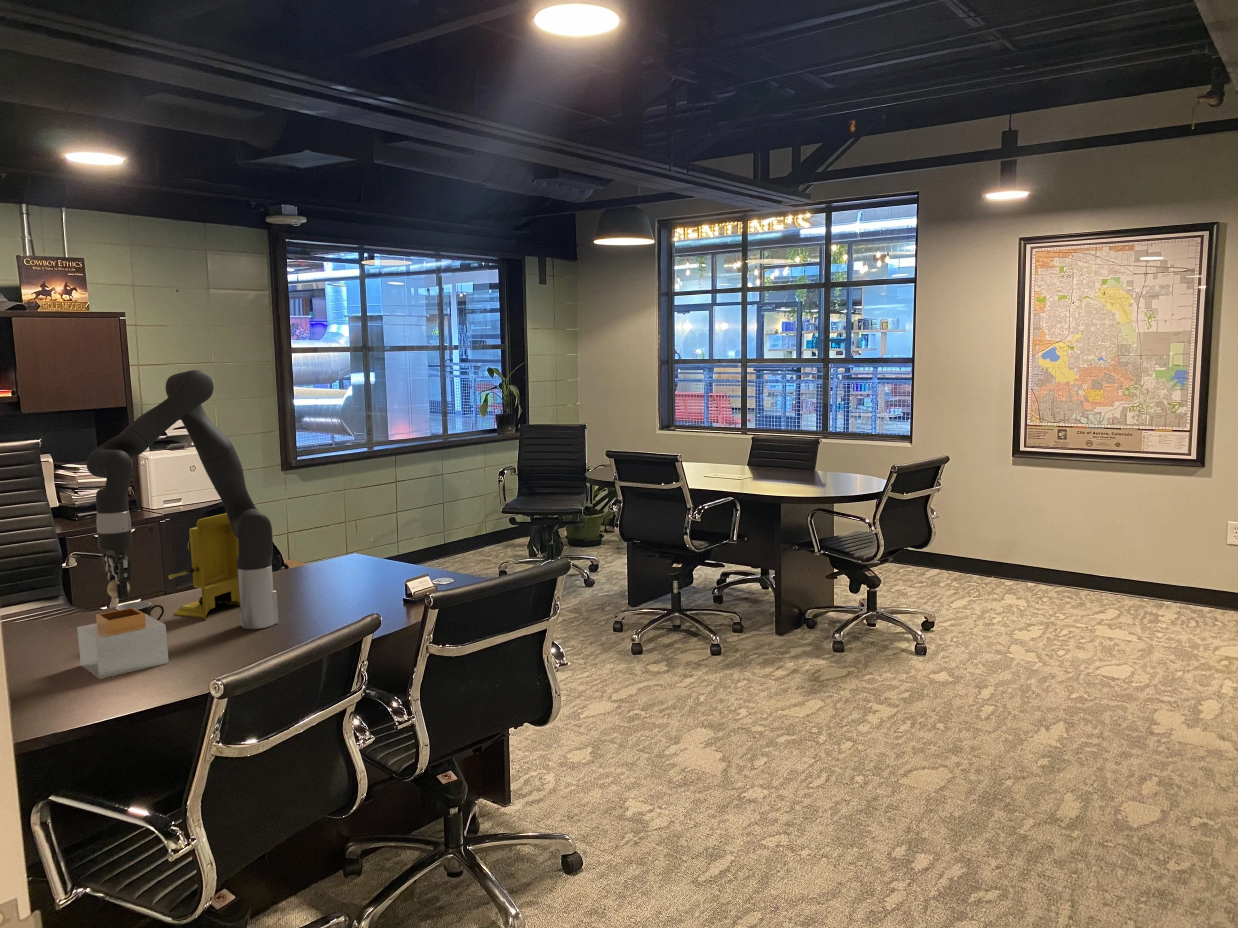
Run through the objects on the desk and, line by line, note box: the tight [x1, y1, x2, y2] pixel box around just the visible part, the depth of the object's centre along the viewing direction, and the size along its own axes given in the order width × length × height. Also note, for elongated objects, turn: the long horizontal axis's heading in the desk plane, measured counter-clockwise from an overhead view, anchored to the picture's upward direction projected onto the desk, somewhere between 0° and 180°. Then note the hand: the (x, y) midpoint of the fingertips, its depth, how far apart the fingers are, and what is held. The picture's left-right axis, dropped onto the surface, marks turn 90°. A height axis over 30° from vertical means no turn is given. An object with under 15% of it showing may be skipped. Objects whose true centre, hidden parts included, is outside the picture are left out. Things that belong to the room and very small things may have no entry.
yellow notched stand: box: [168, 512, 240, 621], centre depth 282 cm, size 31×14×30 cm, turn 160°
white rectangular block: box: [76, 608, 169, 680], centre depth 234 cm, size 16×15×13 cm
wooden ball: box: [106, 579, 131, 600], centre depth 232 cm, size 5×5×5 cm
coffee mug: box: [115, 601, 165, 621], centre depth 253 cm, size 12×9×10 cm
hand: (119, 595), depth 232 cm, fingers closed on wooden ball, 5 cm apart
